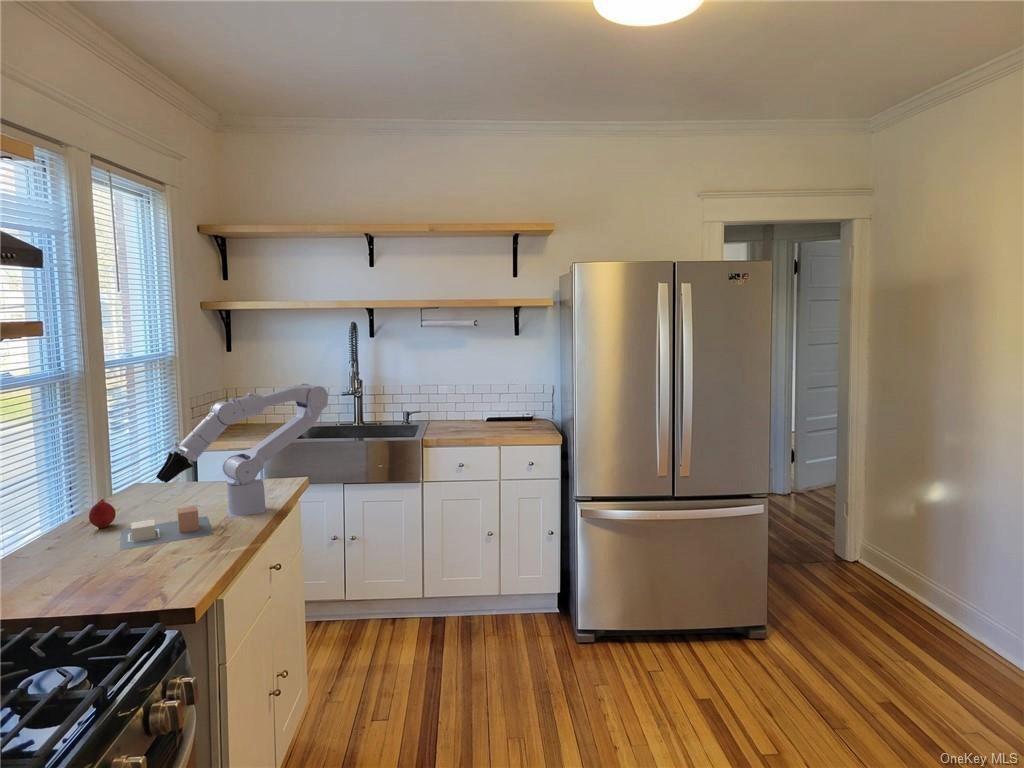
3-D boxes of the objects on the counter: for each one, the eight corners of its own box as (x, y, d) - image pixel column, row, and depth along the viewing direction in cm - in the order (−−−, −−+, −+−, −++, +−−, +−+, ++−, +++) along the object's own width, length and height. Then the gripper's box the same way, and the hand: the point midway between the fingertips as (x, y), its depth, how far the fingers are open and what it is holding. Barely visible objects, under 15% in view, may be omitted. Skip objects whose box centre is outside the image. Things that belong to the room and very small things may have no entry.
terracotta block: (197, 524, 167) (196, 505, 167) (199, 529, 164) (197, 510, 163) (178, 527, 165) (177, 508, 164) (179, 532, 161) (178, 513, 161)
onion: (103, 533, 163) (101, 503, 162) (84, 532, 164) (81, 501, 163) (121, 525, 168) (119, 496, 167) (103, 524, 169) (100, 495, 168)
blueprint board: (207, 518, 174) (206, 505, 173) (213, 536, 160) (212, 522, 160) (121, 531, 164) (120, 518, 163) (120, 552, 150) (118, 537, 150)
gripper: (184, 429, 173) (145, 469, 167) (191, 428, 161) (150, 470, 155) (205, 446, 176) (167, 486, 170) (214, 445, 164) (174, 488, 158)
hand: (160, 480), depth 163 cm, fingers open, 7 cm apart
